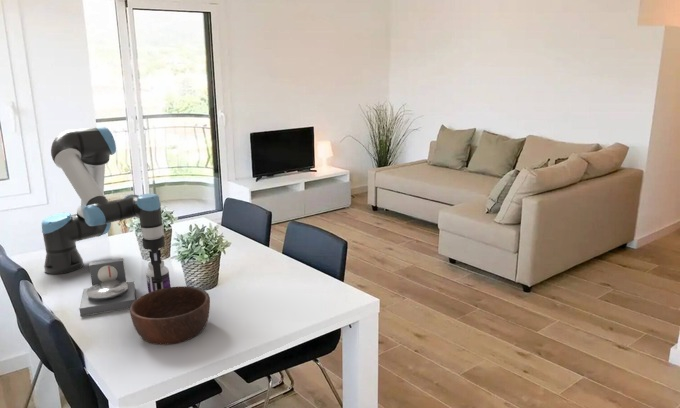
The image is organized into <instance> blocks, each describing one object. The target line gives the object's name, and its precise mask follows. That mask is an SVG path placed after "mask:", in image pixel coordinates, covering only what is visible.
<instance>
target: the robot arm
mask: <svg viewBox="0 0 680 408" xmlns="http://www.w3.org/2000/svg"><path fill="white" fill-rule="evenodd" d="M116 146H117V145H116V140H115V138H114V136H113V133H112V131H110V129H109V128H107V127H105V126H94V127H89V128H78V129H77V128H76V129H67V130H65V131H64V130H63V132H61V133H59V134H58V135H57V136H56V137H55V138H54V140H53V141H52V144H51V147H50V155H51V159H52V161H53V163H54V164H55V166H56V167H57V168H59V169H61V170H62V171H63V174H64V175H65V177H66V178H67V180H68V181H69V183H70V184H71V186H72V188H73V189H74V191H75V193H76V194H77V195H78V197H79V199H80V205H79V206H78V207H77V209H76V213H75V214H71V213H70V212H62V213H61V212H58V213H55V214H52V215H50V216H47V217H46V218H44V219H43V220H42V222H41V233H42V236H43V242H44V247H45V248H44V249H45V254H46V255H45V261H44V265H43V268H44V271H45V273H46V274H51V275H58V274H59V275H60V274H68V273H71V272H74V271H77V270H80V269H81V268H82V267H83V266H84V260H83V258H82V256H81V253H80V252H79V251H78V249H77V243H76V242H80V241H83V240H88V239H92V238H97V237H101V236H104V235H106V234H108V233H109V232H110V230H111V227H112V223H115V222H119V221H123V220H124V221H125V220H127V219H132V218H138V219H139V222H140V228H139V230H138V231H139V232H140V233H141V239H142V247H143V249H145V250H147V251H148V250H149V252H148V254H149V259H150V262H151V264H152V265H153V271H154V279H155V281H153V283H155V290H159V289H163V282H162V277H161V269H160V264H161V260H162V259H161V258H162V251H161V249H162V248H163V247H165V246H166V242H165V236H164V234H165V231H164V223H163V218H162V217H163V216H162V208H161V206H162V205H161V201H160V196H159V195H158V194H156V193H142V194H140V195H138V194H128V195H126V196H125V197H123V198H119V199H115V200H108V199H107V197H106V195H105V194H104V189H105V171H106V165H107V164H108V163H109V161H110V157H111V156H112V155H115V153H116V152H117V147H116Z"/></svg>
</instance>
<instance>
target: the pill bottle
mask: <svg viewBox="0 0 680 408" xmlns="http://www.w3.org/2000/svg"><path fill="white" fill-rule="evenodd" d="M147 266H148V269H147V270H146V271H145V278H146V285H147V291H148V292H147V293H150V292H152V291H155V283H153V281H155V279H154V271H153V265H152V264H151V261H150V262H148V263H147ZM160 269H161V277H162V282H163V288H169V287H172V286H171V280H170V279H171V278H170V271H169V268H168V267H167V266H165V261H164V260H162V259H161V264H160Z"/></svg>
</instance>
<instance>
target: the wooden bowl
mask: <svg viewBox="0 0 680 408" xmlns="http://www.w3.org/2000/svg"><path fill="white" fill-rule="evenodd" d="M210 305H211V298H210V295H209V293H208V292H207V291H206V290H204V289H201V288H199V287H194V286H171V287H169V288H163V289H159V290H155V291H152V292H150V293H148V292H147V293H145V294H143V295H142V296H141V295H140V297H138V298H137V299H135V301H134V302H133V303H132V305H131V306H130V308H129V315H130V318H131V321H132V324H133V327H134V329H135V331H136V333H137V334H138V335H139V336H140V338H142V339H143V340H144V341H146V342H148V343H150V344H154V345H161V346H162V345H166V346H167V345H175V344H178V343H182V342H185V341H188V340H191V339H192V338H195V337H196V336H198V335H199V334H200V333H201V332H202V331H203V330H204V328H205V327H206V326H207V323H208V319H209V316H210V309H211V306H210Z"/></svg>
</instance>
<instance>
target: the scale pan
mask: <svg viewBox="0 0 680 408" xmlns="http://www.w3.org/2000/svg"><path fill="white" fill-rule="evenodd" d="M126 282H127V281H126ZM126 282H124V281H106V282H102V283H98V284H96V285H93V286H92V285H91V286H90V287H88V288H89V289H88V290H87V296H88V297H89V298H91V299H108V298H113V297H116V296H119V295H121V294H123V293H125V292H126V291H127V290H128V284H127V283H126Z"/></svg>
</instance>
